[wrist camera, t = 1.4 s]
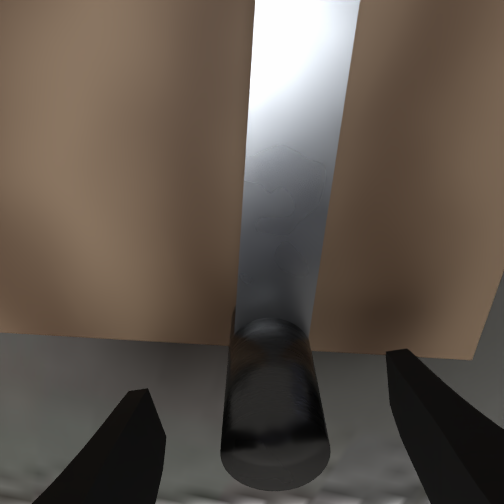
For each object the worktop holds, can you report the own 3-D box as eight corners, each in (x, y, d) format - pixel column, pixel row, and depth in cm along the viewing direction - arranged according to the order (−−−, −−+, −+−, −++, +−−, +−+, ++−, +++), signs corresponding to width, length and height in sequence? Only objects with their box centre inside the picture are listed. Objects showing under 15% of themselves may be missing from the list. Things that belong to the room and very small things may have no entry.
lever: (231, -293, 10) (202, -763, 4) (425, -273, 10) (651, -705, 4) (209, 345, 17) (188, 487, 11) (319, 352, 17) (351, 495, 12)
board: (687, -344, 10) (946, -580, 6) (459, 342, 19) (512, 416, 15) (-217, -439, 10) (-524, -761, 6) (-33, 312, 18) (-110, 382, 14)
